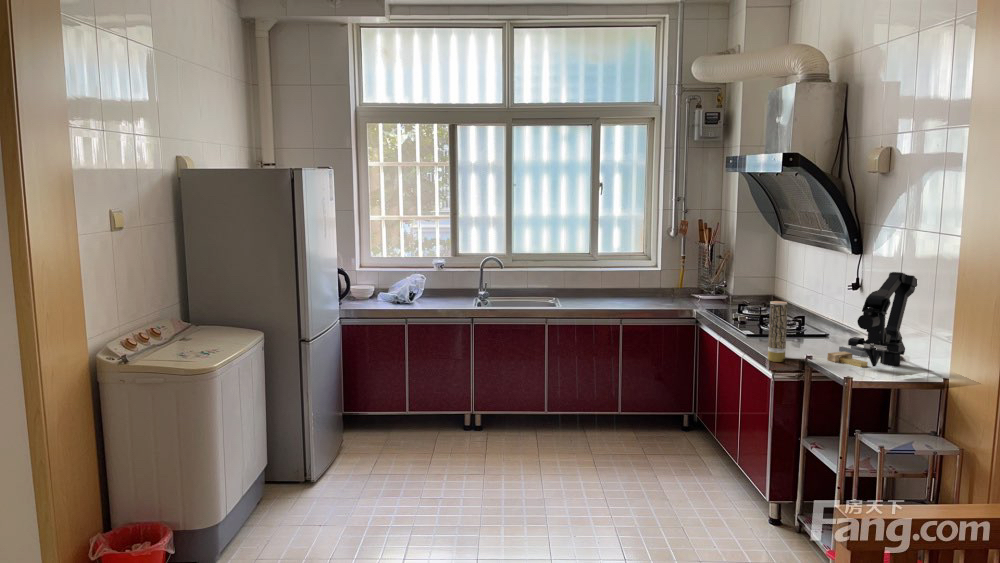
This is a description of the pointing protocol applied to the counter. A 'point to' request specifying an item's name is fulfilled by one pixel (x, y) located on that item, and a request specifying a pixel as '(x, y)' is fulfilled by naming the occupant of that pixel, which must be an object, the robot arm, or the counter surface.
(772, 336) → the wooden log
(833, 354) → the light wood notched block
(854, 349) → the grey u channel block
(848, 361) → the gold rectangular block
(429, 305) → the counter surface
